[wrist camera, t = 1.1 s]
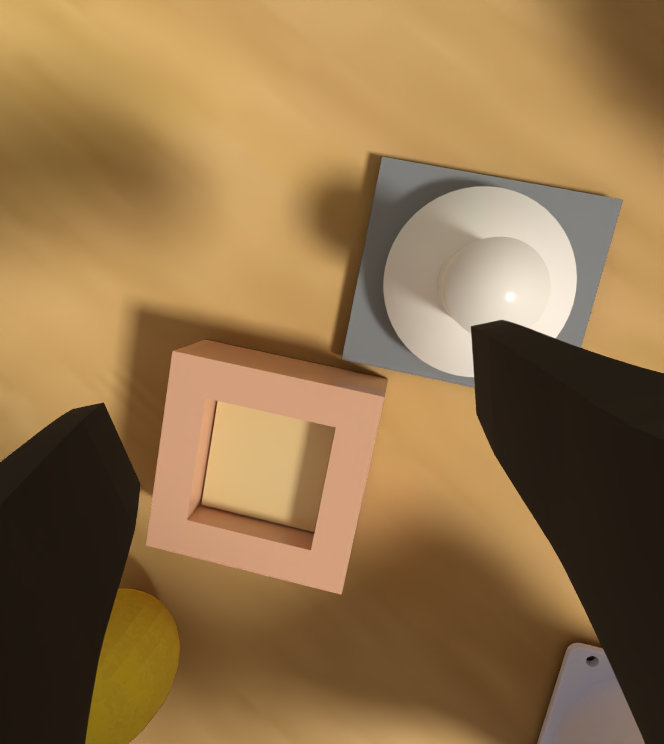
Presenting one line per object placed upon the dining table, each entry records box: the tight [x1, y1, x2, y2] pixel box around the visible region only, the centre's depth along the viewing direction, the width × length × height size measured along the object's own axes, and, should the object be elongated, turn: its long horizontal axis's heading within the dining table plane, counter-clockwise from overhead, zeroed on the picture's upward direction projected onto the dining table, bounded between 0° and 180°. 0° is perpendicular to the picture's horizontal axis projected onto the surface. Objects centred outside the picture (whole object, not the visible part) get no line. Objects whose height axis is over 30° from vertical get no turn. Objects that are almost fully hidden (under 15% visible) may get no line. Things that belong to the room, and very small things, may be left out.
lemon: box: [85, 588, 180, 744], centre depth 23 cm, size 6×6×8 cm
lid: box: [383, 186, 577, 377], centre depth 19 cm, size 7×7×6 cm
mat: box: [342, 157, 623, 388], centre depth 22 cm, size 9×8×1 cm
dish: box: [146, 340, 388, 595], centre depth 23 cm, size 8×8×4 cm
